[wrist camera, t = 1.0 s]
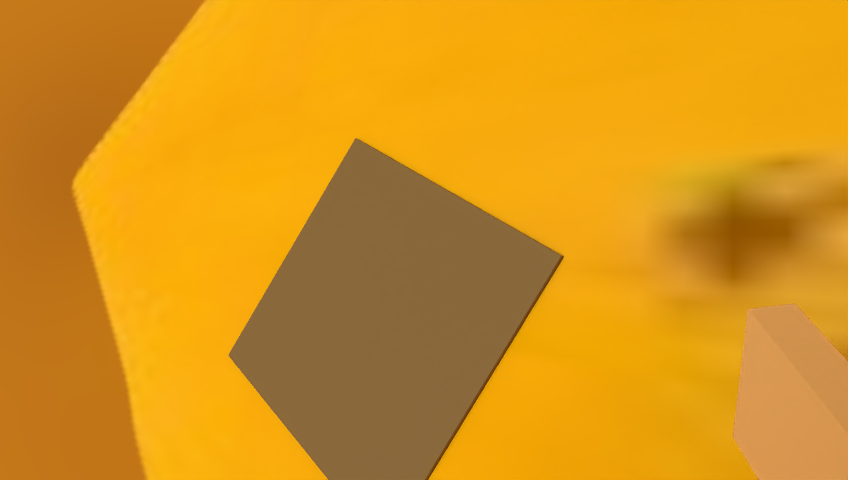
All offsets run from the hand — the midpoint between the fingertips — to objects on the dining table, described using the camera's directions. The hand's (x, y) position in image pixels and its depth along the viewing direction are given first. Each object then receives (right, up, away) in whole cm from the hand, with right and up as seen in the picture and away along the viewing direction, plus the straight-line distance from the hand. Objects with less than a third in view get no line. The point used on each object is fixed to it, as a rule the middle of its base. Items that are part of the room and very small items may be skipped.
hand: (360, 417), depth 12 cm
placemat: (-2, -2, +33) cm, 33 cm away
